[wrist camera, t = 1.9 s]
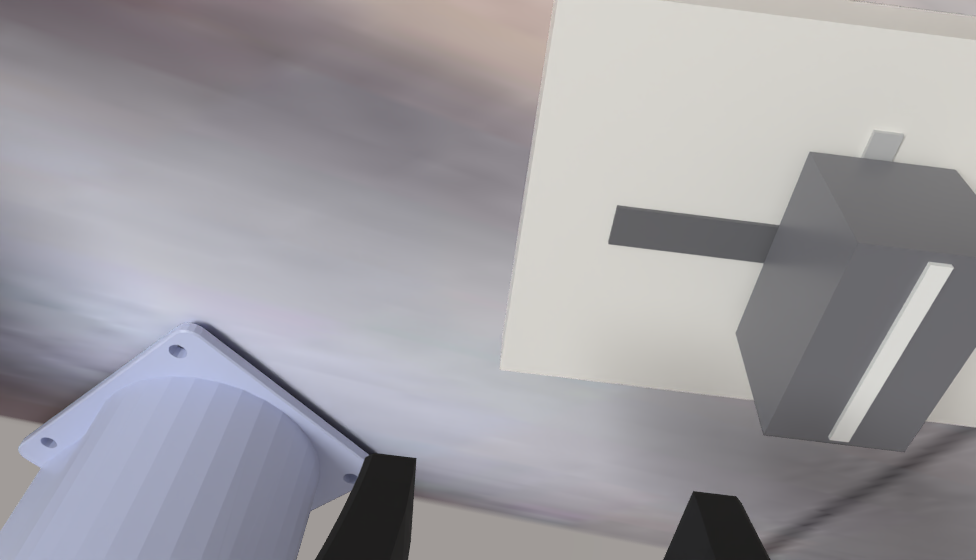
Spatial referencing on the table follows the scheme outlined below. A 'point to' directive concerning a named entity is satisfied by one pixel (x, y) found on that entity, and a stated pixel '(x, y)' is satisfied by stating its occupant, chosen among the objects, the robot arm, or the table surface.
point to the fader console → (709, 170)
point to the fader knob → (862, 302)
